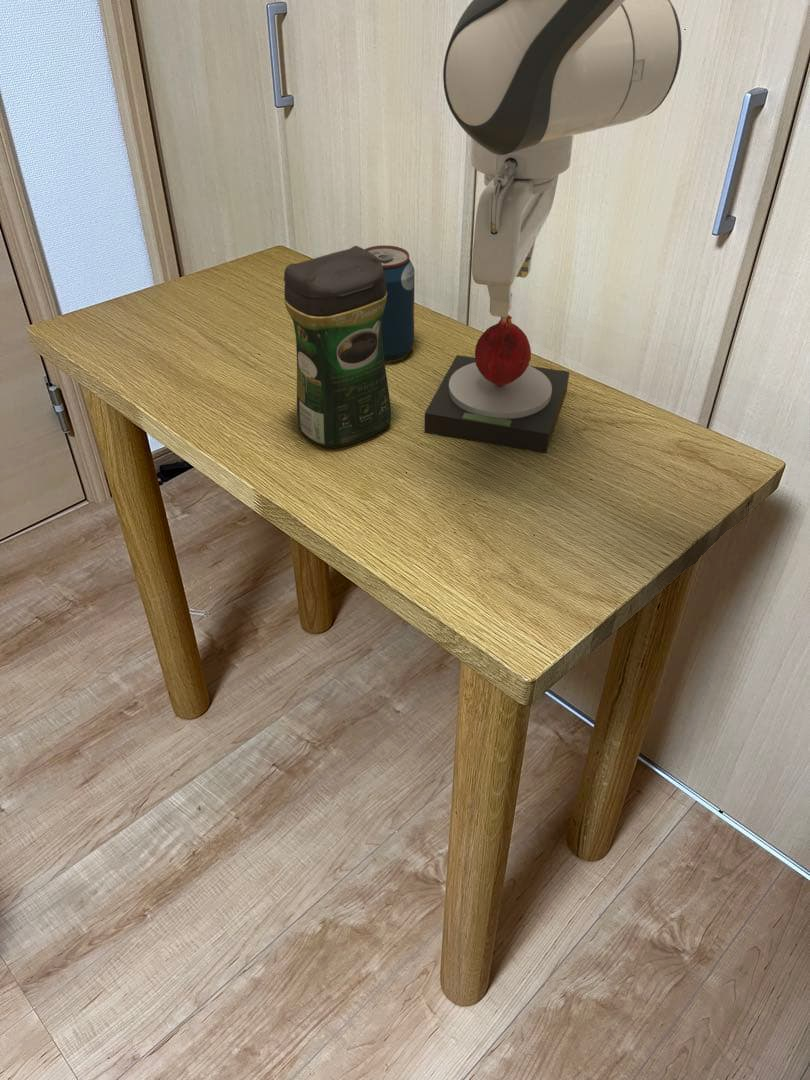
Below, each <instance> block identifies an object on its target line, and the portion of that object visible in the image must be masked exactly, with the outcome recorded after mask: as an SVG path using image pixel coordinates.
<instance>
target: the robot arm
mask: <svg viewBox="0 0 810 1080" xmlns="http://www.w3.org/2000/svg"><path fill="white" fill-rule="evenodd" d="M678 16H679V15H678V13H677V11H676V8H675V6H674V4H673V3H672V1H671V0H472V1H471V2H470V3H469V4H468V6H467V7H466V9H465V10H464V12H462V15H461V16H460V18H459V19H458V22H457V24H456V25H455V27H454V30H453V32H452V34H451V36H450V39H449V42H448V45H447V48H446V52H445V55H444V60H443V69H442V70H443V71H442V80H443V81H442V83H443V91H444V96H445V99H446V102H447V105H448V108H449V110H450V112H451V115H452V116H453V118H454V119H455V120H456V122H457V123H458V125H459V126H460V128H462V130H463V131H464V133H466V134H467V135H468V136H469V138H471V151H470V153H471V154H470V155H471V156H470V165H471V166H472V167H473V169H474V170H476V171H477V172H479V173H481V174H483V176H484V177H483V180H484V181H483V184H484V185H485V187H484V189H483V190H482V192H481V194H480V196H479V199H478V203H477V207H476V214H475V223H474V234H473V245H472V246H473V247H472V261H471V274H472V280H473V282H474V283H475V284H477V285H483V286H487V287H486V288H487V292H488V295H489V314H490V315H491V316H492V317H498V318H501V317H506V316H507V315H509V313H510V311H511V309H512V301H513V293H512V285H513V284H514V282H515V279H516V278H524V279H525V278H526V277H528V275H529V273H530V271H531V269H532V261H533V260H532V259H533V254H534V249H535V245H536V241H537V237H538V236H539V234H540V232H541V230H542V228H543V226H544V225H545V223H546V221H547V218H548V217H549V215H550V213H551V211H552V207H553V203H554V199H555V195H556V190H557V185H558V179H559V175H561V174H563V173H564V172H566V171H567V170H568V169H569V168H570V166H571V158H572V150H573V149H572V148H573V139H574V136H576V135H582V134H586V133H590V132H595V131H597V130H600V129H606V128H611V127H615V126H620V125H622V124H623V125H624V124H627V123H631V122H633V121H637V120H638V119H641V118H643V117H646V116H649V115H651V114H652V113H654V112H656V110H657V109H659V107H660V106H661V105H662V104H663V103H664V101H665V100H666V99H667V96H668V95H669V93H670V92H671V90H672V87H673V86H674V83H675V81H676V78H677V75H678V71H679V67H680V63H681V56H682V47H683V46H682V42H683V41H682V40H683V39H682V29H681V24H680V20H679V17H678Z"/></svg>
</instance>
